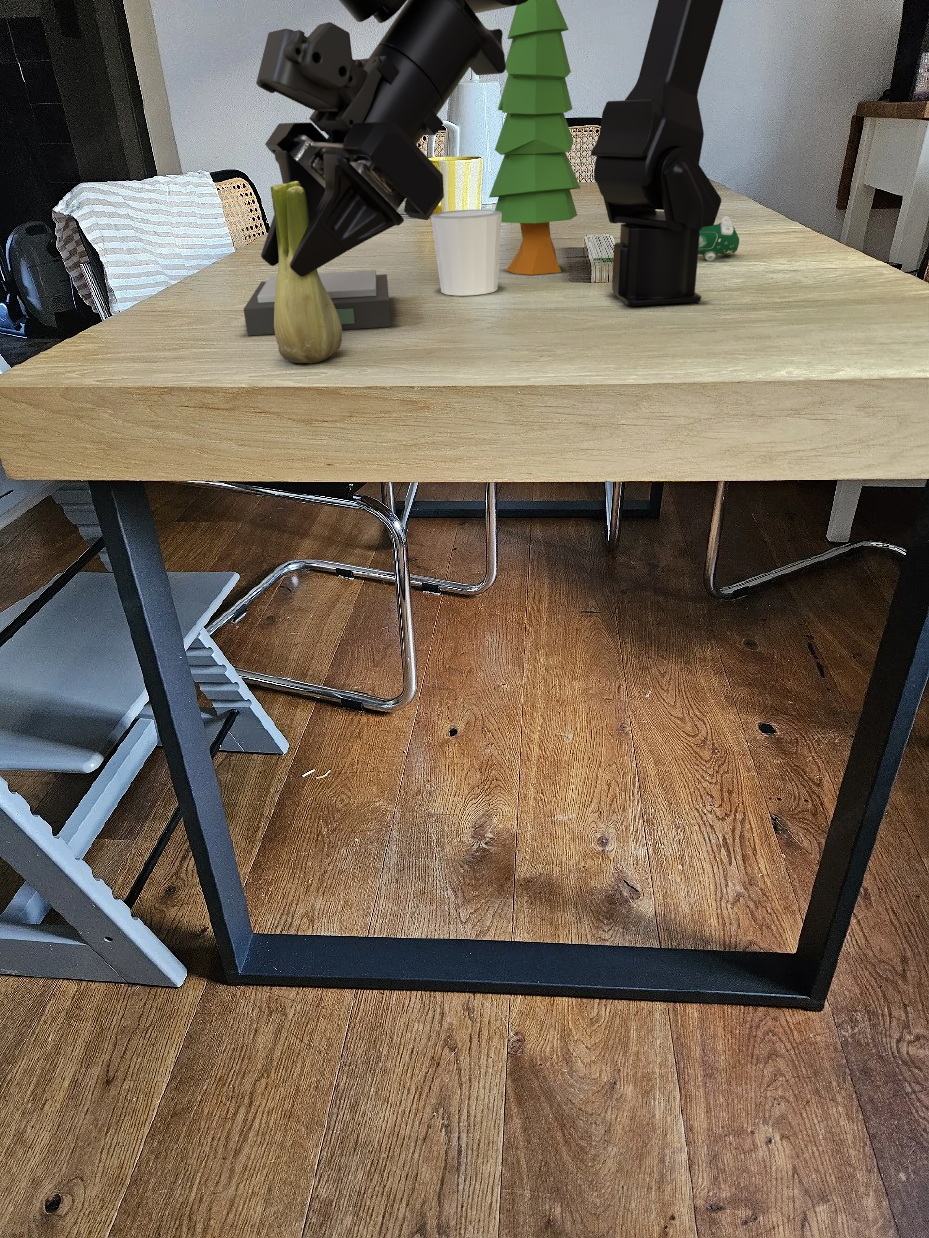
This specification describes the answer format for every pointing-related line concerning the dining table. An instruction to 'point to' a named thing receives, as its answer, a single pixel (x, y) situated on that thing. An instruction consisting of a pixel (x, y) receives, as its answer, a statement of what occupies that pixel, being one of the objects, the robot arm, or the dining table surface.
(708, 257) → the green toy car
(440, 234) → the white cup
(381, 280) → the kitchen scale
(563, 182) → the decorative tree
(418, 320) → the dining table surface
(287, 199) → the fennel bulb
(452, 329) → the dining table surface
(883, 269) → the dining table surface
